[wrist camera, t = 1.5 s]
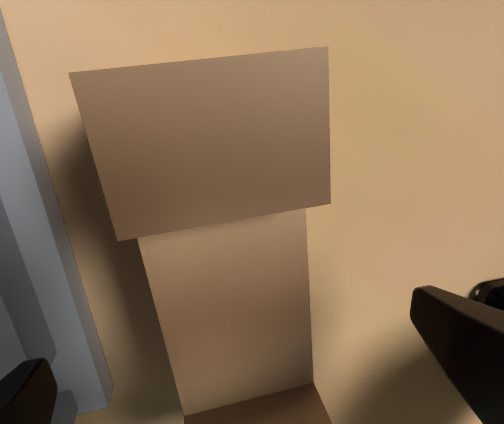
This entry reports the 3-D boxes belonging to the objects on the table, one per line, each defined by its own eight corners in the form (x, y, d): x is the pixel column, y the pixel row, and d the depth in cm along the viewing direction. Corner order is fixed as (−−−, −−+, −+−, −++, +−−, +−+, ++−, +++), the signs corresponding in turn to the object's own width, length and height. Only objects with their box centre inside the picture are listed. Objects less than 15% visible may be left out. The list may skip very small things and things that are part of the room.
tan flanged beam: (127, 80, 10) (68, 73, 5) (256, 66, 10) (327, 46, 5) (195, 374, 14) (202, 532, 9) (282, 353, 15) (335, 490, 10)
